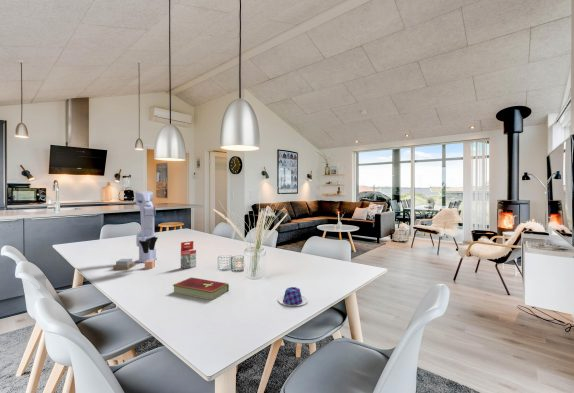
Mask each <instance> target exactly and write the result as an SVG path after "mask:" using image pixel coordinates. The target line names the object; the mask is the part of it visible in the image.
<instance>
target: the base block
mask: <svg viewBox="0 0 574 393" xmlns="http://www.w3.org/2000/svg"><path fill="white" fill-rule="evenodd" d="M134 267H136V262H132V263H131V264H130V265H128V266H116V264H115V265H113V266H112V271H116V270H117V271H122V270H123V271H126V270H127V271H129V270H130V269H132V268H134Z"/></svg>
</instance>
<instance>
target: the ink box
mask: <svg viewBox="0 0 574 393" xmlns="http://www.w3.org/2000/svg"><path fill="white" fill-rule="evenodd" d="M195 267H197V250H196V249H195V248H194V241H193V240H191V241H183V242H180V268H181V269H183V270H185V269H188V268H195Z"/></svg>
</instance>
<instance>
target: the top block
mask: <svg viewBox="0 0 574 393" xmlns="http://www.w3.org/2000/svg"><path fill="white" fill-rule="evenodd" d="M131 263H133V258H120V259H119V260H115V265H116V266H128V265H130V264H131Z"/></svg>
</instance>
